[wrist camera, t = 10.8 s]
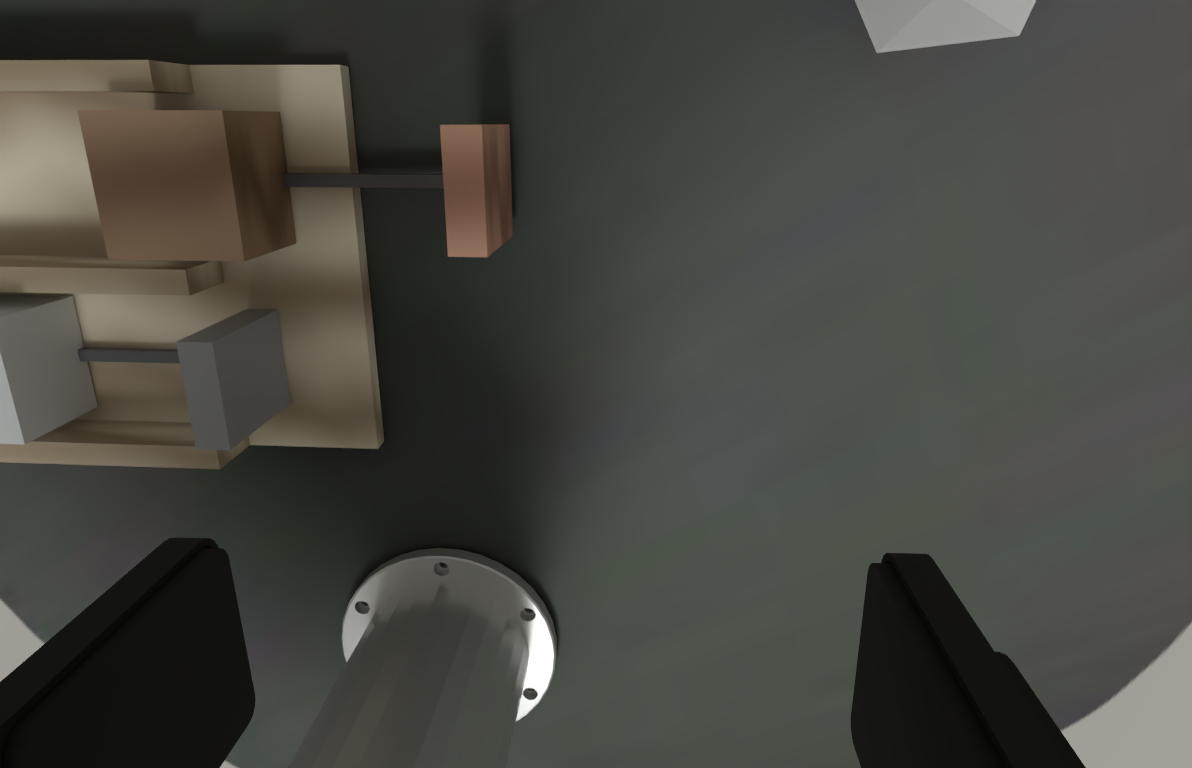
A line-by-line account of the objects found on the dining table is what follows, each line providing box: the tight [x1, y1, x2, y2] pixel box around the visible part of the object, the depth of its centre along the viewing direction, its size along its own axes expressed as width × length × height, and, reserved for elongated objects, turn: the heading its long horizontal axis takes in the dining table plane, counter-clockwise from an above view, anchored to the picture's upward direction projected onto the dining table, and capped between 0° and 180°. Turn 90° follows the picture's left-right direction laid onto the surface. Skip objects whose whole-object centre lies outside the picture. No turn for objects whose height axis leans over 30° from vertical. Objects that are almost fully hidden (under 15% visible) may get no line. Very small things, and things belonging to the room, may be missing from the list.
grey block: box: [0, 295, 290, 450], centre depth 36 cm, size 6×17×6 cm, turn 90°
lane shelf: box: [0, 60, 384, 469], centre depth 37 cm, size 19×23×4 cm
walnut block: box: [77, 110, 513, 262], centre depth 33 cm, size 6×17×6 cm, turn 90°
